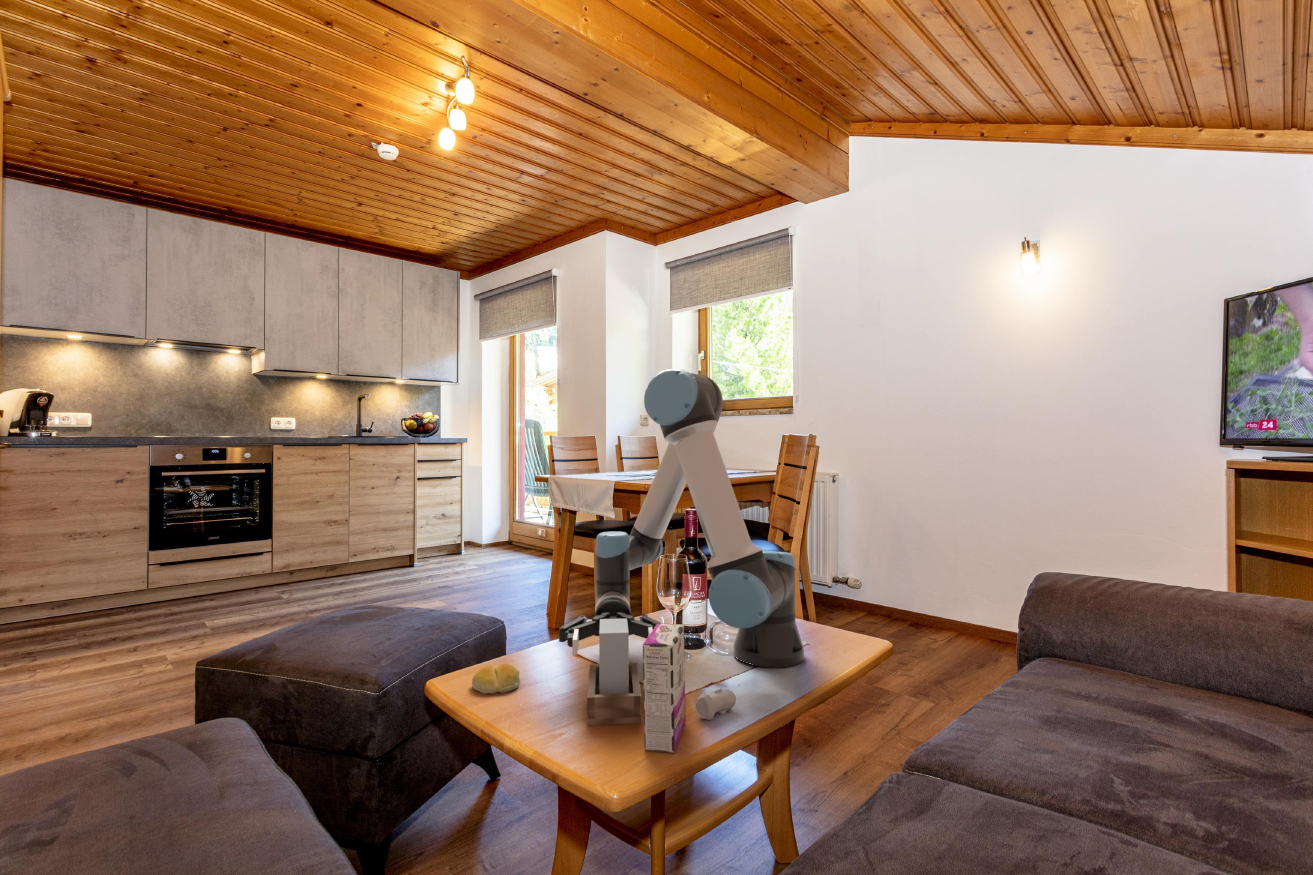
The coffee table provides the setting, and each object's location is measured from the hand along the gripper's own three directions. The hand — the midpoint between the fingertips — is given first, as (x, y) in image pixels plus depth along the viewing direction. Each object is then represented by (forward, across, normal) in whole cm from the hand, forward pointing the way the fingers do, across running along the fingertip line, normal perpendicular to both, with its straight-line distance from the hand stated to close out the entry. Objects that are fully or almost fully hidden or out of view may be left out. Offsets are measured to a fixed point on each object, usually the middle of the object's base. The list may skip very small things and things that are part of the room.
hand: (613, 646), depth 111 cm
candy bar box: (+11, -8, -11) cm, 17 cm away
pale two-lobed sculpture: (+2, -17, -11) cm, 21 cm away
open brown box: (-2, 0, -11) cm, 11 cm away
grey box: (-2, 0, -10) cm, 10 cm away
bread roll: (-13, +22, -12) cm, 28 cm away
